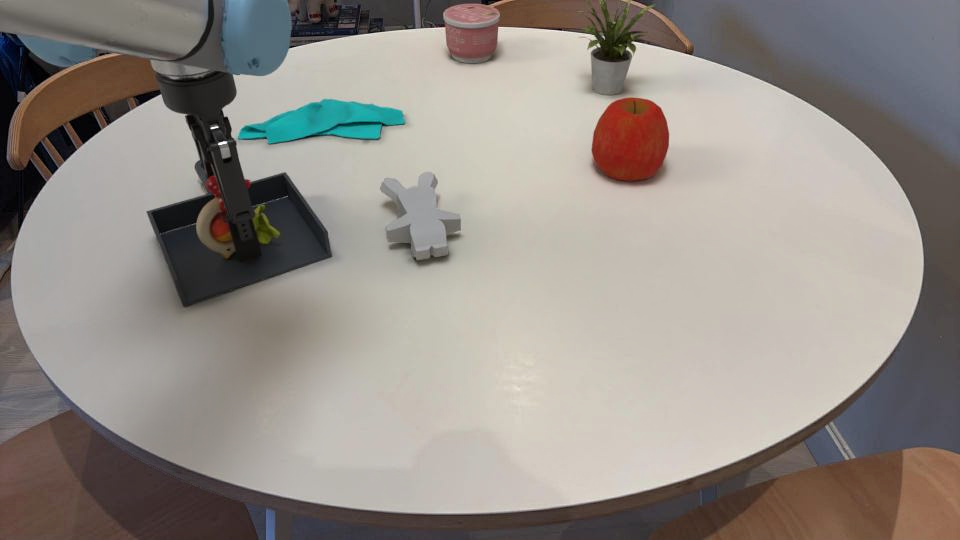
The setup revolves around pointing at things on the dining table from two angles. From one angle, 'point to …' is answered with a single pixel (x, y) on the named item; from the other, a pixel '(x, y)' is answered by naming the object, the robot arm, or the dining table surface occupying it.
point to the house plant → (611, 49)
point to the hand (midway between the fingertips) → (240, 240)
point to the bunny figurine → (420, 217)
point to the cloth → (325, 121)
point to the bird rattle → (218, 232)
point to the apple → (631, 139)
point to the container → (471, 32)
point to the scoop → (213, 274)
